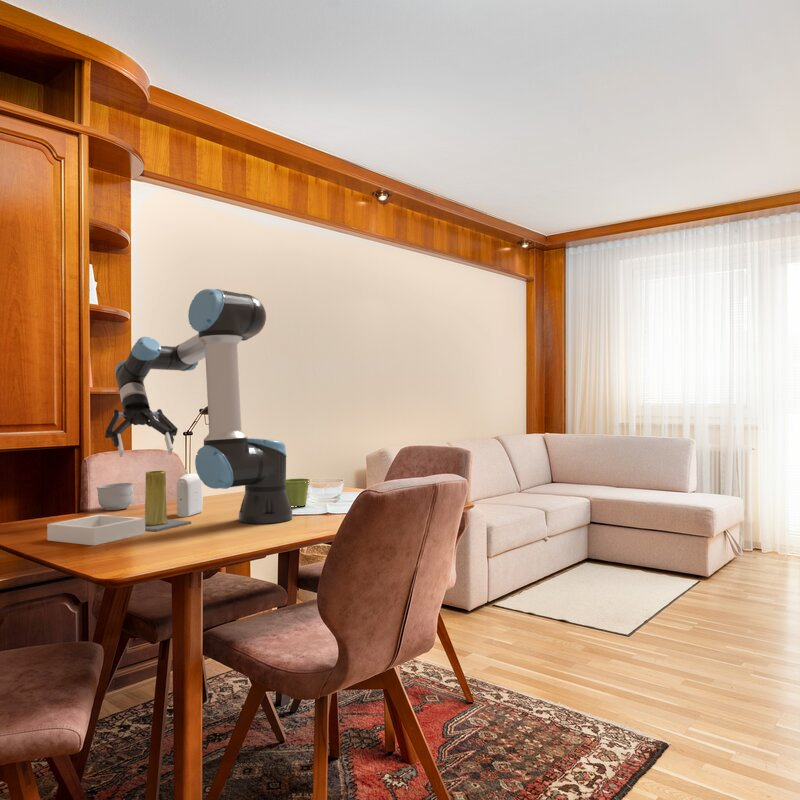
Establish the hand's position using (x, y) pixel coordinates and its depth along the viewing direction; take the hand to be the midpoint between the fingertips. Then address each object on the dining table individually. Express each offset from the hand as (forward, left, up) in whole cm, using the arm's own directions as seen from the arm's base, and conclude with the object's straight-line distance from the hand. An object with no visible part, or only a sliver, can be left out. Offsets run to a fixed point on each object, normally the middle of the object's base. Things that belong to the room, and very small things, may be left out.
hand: (146, 452), depth 197 cm
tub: (-7, +24, -20) cm, 32 cm away
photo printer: (-4, -13, -20) cm, 24 cm away
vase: (-9, +6, -19) cm, 22 cm away
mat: (-9, +6, -20) cm, 22 cm away
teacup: (+27, -14, -20) cm, 36 cm away
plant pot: (-25, -39, -20) cm, 51 cm away
